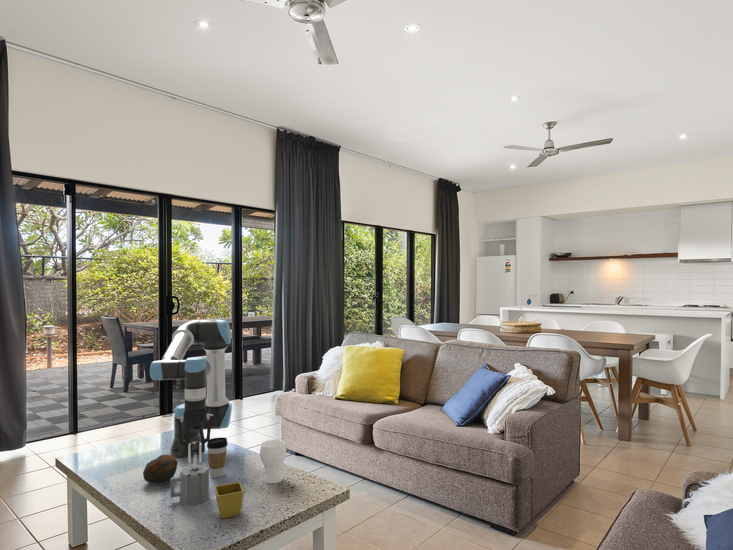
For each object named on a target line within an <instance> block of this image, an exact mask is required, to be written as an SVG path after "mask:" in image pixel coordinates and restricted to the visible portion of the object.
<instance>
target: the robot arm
mask: <svg viewBox="0 0 733 550" xmlns="http://www.w3.org/2000/svg"><path fill="white" fill-rule="evenodd" d="M231 343H232V332H231V326H230V323H229V322H228V320H226V319H217V318H216V319H195V320H190V321H187V322H185V323H184V324H182V325H180V326H179V327H178V328H177V329H175V331H174V332H173V334H172V337H171V342H170V344H169V346H168V347H167V349H166V351H165V352H164V354H163V356H162V358H161V360H159V359H158V360H154V361H151V363H150V366H149V376H150V379H151V380H154V381H165V380H166V381H167V380H168V381H169V380H184V399H185V400H184V403H182V404H179V405H177V406H176V407H175V408H174V415H173V418H174V419H173V422H174V423H173V426H174V427H173V428H174V429H173V439H172V443H171V446H170V449H169V450H170V451H169V452H170V453H169V455H172V456H175V457H176V458H187V460H188V461H187V463H188V464H191V459H192V457H194V452H191V442H196V441H198V442H200V444H199V451H198V452H196V456H198V455H199V456H198V457H199V459H198V463H202V461H203V459H202V456H203V455H202V454H203V453H205V450H206V448H205V447H206V446H205V445H206V444H207V443H208V442H209V441H210V439H211V431H212V430H221V429H222V430H223V429H226V428H229V426H230V424H231V423H230V422H231V416H232V412H233V411H232V409H233V404H232V403H229V402H230V401H229V399H228V397H226V358H225V357H226V356H225V355H226V350H227V349H228V347H229V345H230V344H231ZM193 345H202V349H203V350H204V351H205V357H202V356H195V357H194V356H192V357H187V358H186V359H184V357H185V355H186V353H187V351H188V349H189V348H190V347H191V346H193ZM204 430H206V437H205V433H204Z"/></svg>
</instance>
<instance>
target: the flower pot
mask: <svg viewBox="0 0 733 550" xmlns="http://www.w3.org/2000/svg"><path fill="white" fill-rule="evenodd" d="M214 490H215V491H214V492H215V500H216V505H217V509H218V512H219V515H220V518H222V519H227V518H231V517H237V516H238V515H239V514H240V512H241V509H242V508H243V501H244V493H245V491H244V488H243V486H242V483H241V481H238V482H232V483H227V484H220V485H217V486H214Z"/></svg>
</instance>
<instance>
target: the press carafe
mask: <svg viewBox="0 0 733 550" xmlns="http://www.w3.org/2000/svg"><path fill="white" fill-rule="evenodd" d="M179 473H180V474H179V476H173V477H172V478H171V479H170V498H171V499H172V498H177V497H178V498H179V504H183V505H186V506H193V505H200V504H202V503H205V502H206V501H208V500H209V499H210V470H209V465H207V464H206V465H205V464H201V465H200V464H196V471H194V464H192V465H191V466H190V465H187V466H185V467H183V468H181V469H180V472H179ZM177 482H179V485H180V486H179V491H175V483H177Z"/></svg>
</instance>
